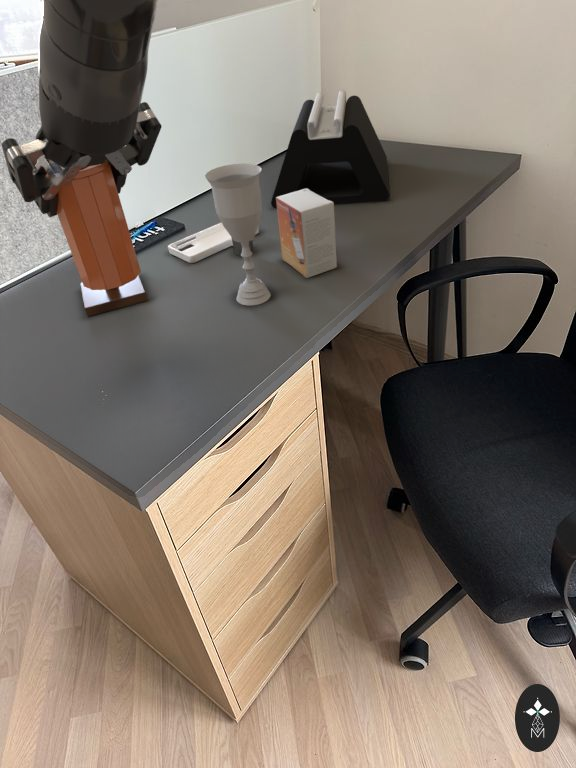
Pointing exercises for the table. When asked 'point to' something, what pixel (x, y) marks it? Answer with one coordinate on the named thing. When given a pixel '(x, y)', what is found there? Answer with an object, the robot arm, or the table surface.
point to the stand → (112, 297)
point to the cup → (97, 229)
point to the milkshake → (239, 246)
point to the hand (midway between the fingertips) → (80, 197)
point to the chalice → (240, 218)
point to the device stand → (335, 154)
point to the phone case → (203, 244)
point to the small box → (307, 232)
